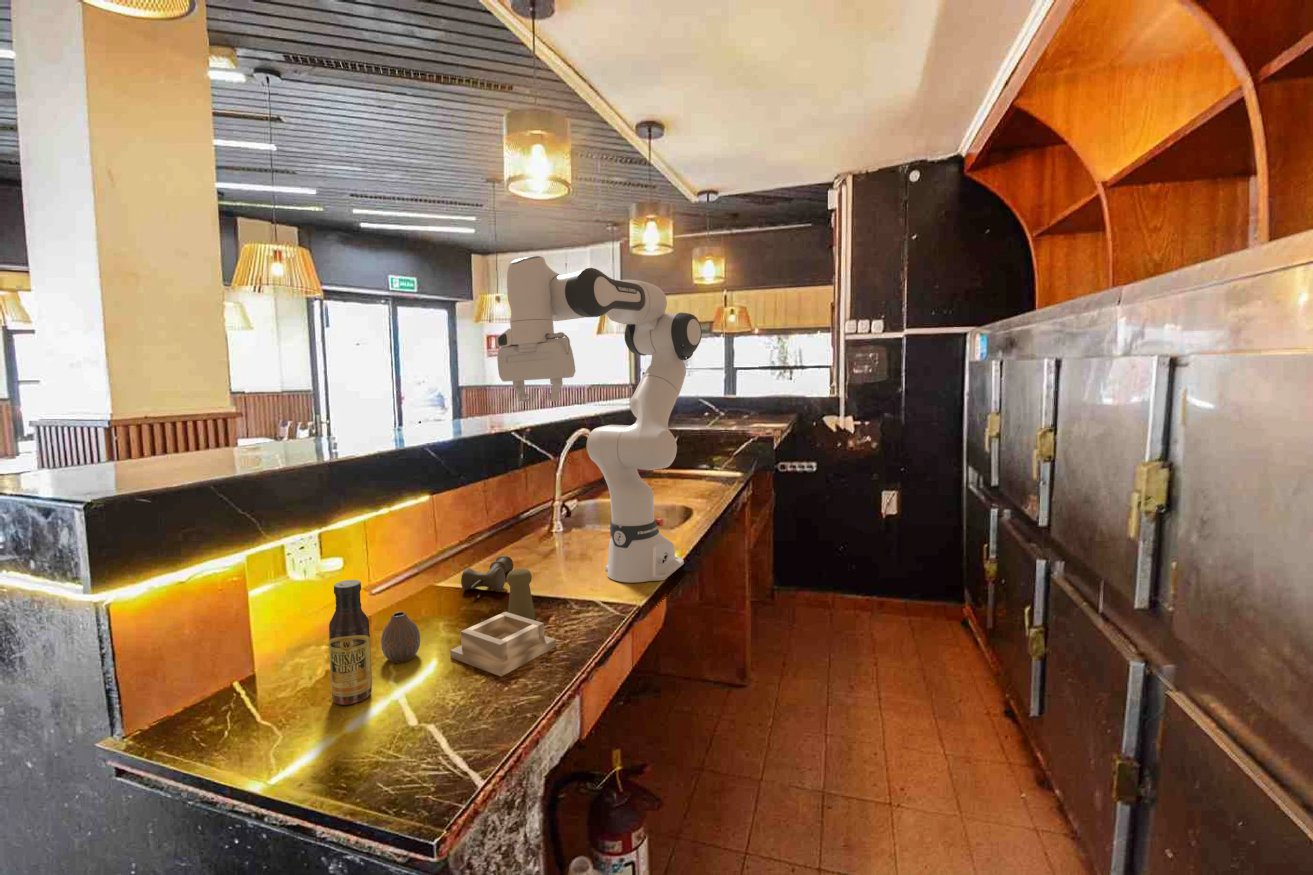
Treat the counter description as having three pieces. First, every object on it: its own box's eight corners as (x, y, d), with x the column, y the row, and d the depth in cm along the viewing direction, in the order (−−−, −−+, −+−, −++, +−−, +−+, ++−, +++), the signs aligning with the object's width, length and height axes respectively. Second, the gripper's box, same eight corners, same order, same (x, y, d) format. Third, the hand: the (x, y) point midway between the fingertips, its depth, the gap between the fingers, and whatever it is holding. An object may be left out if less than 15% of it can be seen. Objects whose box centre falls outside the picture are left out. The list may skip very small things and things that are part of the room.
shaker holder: (506, 630, 130) (505, 607, 130) (556, 646, 122) (554, 621, 122) (450, 657, 119) (449, 632, 118) (500, 676, 111) (499, 649, 110)
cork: (529, 625, 133) (526, 575, 132) (502, 623, 134) (499, 574, 133) (539, 614, 139) (537, 566, 137) (514, 612, 140) (511, 565, 139)
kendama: (523, 574, 167) (491, 600, 148) (489, 574, 169) (453, 600, 149) (521, 552, 167) (489, 575, 147) (487, 552, 169) (451, 575, 149)
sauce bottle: (328, 710, 101) (317, 592, 99) (336, 691, 107) (326, 579, 105) (372, 703, 103) (362, 587, 101) (377, 685, 109) (368, 575, 107)
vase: (429, 654, 121) (426, 610, 120) (398, 669, 115) (394, 624, 114) (405, 647, 124) (402, 604, 123) (374, 661, 118) (370, 617, 117)
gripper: (579, 331, 127) (584, 399, 129) (513, 339, 140) (518, 401, 141) (556, 331, 122) (562, 401, 124) (490, 339, 135) (496, 403, 136)
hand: (538, 401), depth 133 cm, fingers open, 8 cm apart
